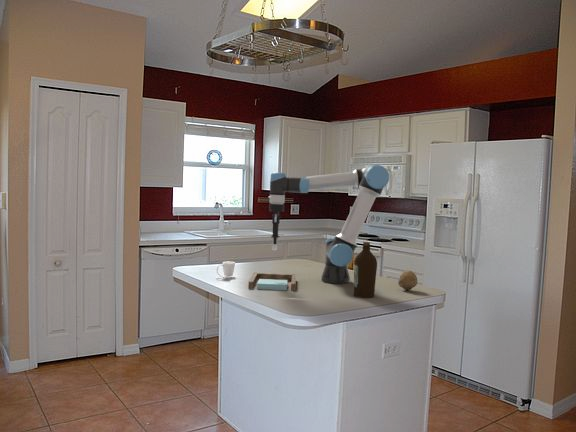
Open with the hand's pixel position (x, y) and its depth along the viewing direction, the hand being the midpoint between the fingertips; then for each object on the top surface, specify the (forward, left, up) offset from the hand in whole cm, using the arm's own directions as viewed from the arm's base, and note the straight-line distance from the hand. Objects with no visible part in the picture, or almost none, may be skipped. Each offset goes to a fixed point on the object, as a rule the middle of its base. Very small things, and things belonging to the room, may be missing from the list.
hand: (274, 250), depth 259 cm
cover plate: (0, +12, -16) cm, 20 cm away
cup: (+26, -11, -17) cm, 33 cm away
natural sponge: (-67, +2, -17) cm, 69 cm away
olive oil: (-43, +19, -17) cm, 50 cm away
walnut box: (0, +5, -17) cm, 18 cm away
